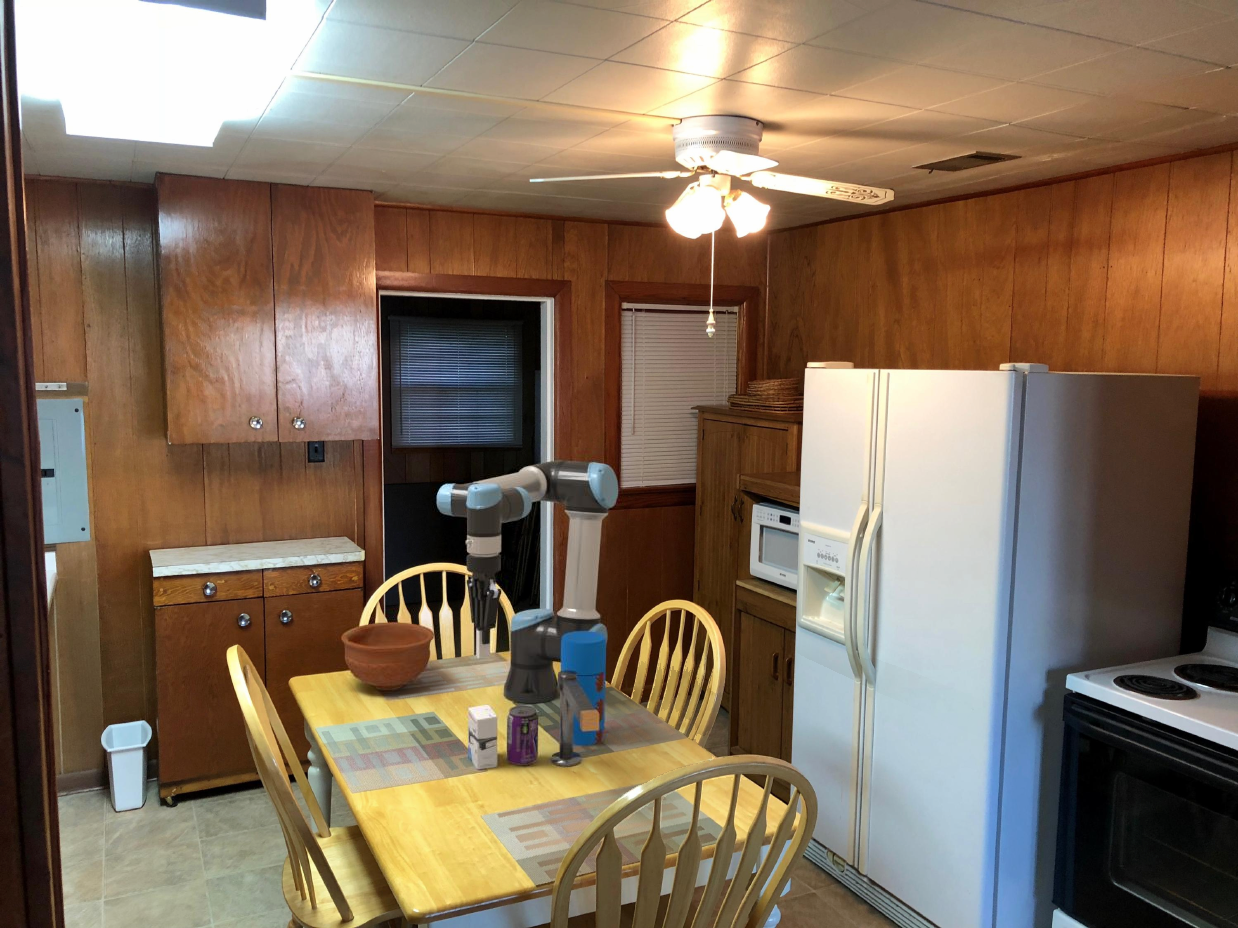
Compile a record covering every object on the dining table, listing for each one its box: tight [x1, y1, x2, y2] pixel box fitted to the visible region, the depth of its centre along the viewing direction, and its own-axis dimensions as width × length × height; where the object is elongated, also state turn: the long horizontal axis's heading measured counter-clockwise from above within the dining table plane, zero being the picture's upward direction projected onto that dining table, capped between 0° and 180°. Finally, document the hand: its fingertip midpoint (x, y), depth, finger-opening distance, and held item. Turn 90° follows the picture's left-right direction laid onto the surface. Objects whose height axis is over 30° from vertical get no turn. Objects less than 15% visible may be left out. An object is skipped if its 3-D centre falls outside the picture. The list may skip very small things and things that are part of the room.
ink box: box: [467, 704, 498, 770], centre depth 218 cm, size 8×5×12 cm, turn 23°
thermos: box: [560, 631, 607, 747], centre depth 233 cm, size 11×11×25 cm
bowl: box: [341, 621, 435, 691], centre depth 267 cm, size 25×25×15 cm
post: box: [550, 690, 582, 768], centre depth 219 cm, size 7×7×16 cm
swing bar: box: [557, 670, 599, 731], centre depth 207 cm, size 28×4×4 cm, turn 14°
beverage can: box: [506, 705, 539, 766], centre depth 219 cm, size 7×7×12 cm
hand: (483, 656), depth 216 cm, fingers closed
